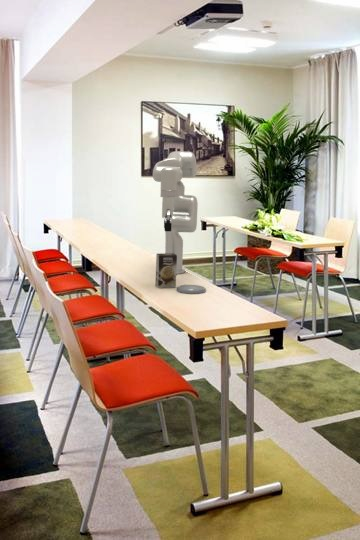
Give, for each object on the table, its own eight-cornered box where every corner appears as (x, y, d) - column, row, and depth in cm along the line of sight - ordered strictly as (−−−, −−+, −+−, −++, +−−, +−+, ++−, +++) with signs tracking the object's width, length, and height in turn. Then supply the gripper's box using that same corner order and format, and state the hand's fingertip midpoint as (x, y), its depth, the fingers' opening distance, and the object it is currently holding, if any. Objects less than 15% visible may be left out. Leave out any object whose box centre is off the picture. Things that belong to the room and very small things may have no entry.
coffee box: (158, 288, 297) (158, 255, 294) (155, 285, 303) (155, 253, 300) (176, 287, 300) (177, 255, 296) (173, 284, 306) (173, 252, 303)
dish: (176, 287, 301) (176, 284, 300) (204, 287, 301) (204, 284, 301) (177, 293, 287) (177, 290, 287) (207, 294, 288) (207, 291, 287)
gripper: (160, 192, 300) (159, 227, 304) (160, 195, 283) (160, 232, 287) (175, 192, 301) (174, 227, 304) (177, 195, 284) (176, 232, 287)
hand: (167, 229), depth 296 cm, fingers open, 9 cm apart
